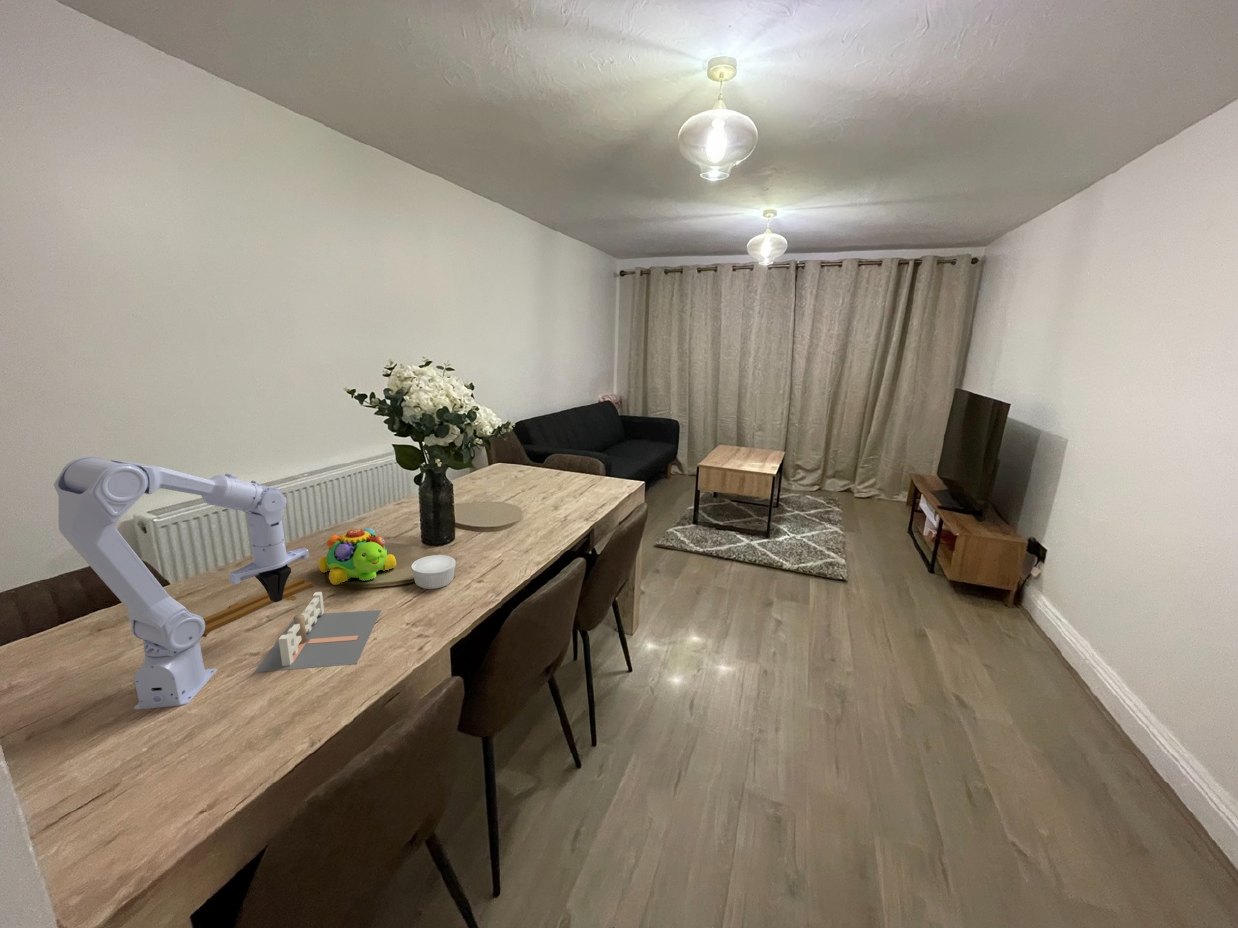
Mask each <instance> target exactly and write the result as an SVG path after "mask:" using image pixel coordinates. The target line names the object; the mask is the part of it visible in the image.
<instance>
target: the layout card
mask: <svg viewBox="0 0 1238 928" xmlns="http://www.w3.org/2000/svg"><path fill="white" fill-rule="evenodd" d="M381 612H382V609H376V610H361V611H360V610H358V611H345V612H341V611H340V612H329V613H326V612H324V613H323V615H319V616H317V622H316V623H315V624H312V625H311V628H312V629H311V631H310V632H307V633H306V636H307V642H306V643H304V644H299V645H298V652H297V653H296V655H293V662H292V664H291V665H288V666H282V660H281V653H280V646H279V639H278V640H277V641H276V643H275V644H274V646H272V648H271V650H270V651H269V652H268V654H267V655H266V656H265V657H264V659H262V661H261V663H260V664H259V665H258V667H257V668H256V670H254V672H253V673H254V674H255V673H264V672H265V673H266V672H276V671H279V672H280V671H291V670H302V669H311V668H312V669H315V668H324V667H325V668H326V667H327V668H328V667H337V666H338V667H339V666H347V665H348V666H350V665H357V663H358V661H359V660H360V658H361V656H362V653H363V651H364V649H365V646H366V645H367V643H368V640H369V639H370V636H371V634H372V632H373V630H374V627H375V625H376V622H377V620H378V619H379V616H380V614H381ZM293 625H294V619H293V620H292V621H291V623H290V624H289V625H288V626H287V628H286V629H285V631H283V633H282V635H287V633H288V630H289V629H290V628H292V627H293Z"/></svg>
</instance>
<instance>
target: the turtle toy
mask: <svg viewBox="0 0 1238 928" xmlns="http://www.w3.org/2000/svg"><path fill="white" fill-rule="evenodd" d="M385 544H386V541H385V539H384V537H383V536H382V535H377V534H376V532H375V530H374V529H372V528H369V527H366V528H363V529H361V528H360V529H351V530H347V531H346V533H345V534H340V535H336V534H333V535H332V536H330V538H329V539H328V540H327V542H326V546H328V551H327V553H326V556H323V557H321V558H319V560H318V568H319V570H320V572H321V573H324V574H326V573H328V580H329V581H330V583H331V584H332V585H335V586H337V585H340V583H341V582H343V581H347V582H348V581H349V580H350V579H352V578H353V579H354V578H357V579H358V578H359V579H358V580H359V581H360V580H361V581H364V582H365V580H366V581H371V580H373V578H374V579H375V578H376V577H377V572H379V571H380V570H387V569H390V568H394V567H395V566H396V567H397V559H396V557H395V555H394V554H390V553H389V554H388V553H387V548H386V545H385ZM396 567H395V568H396ZM395 568H394V569H395ZM330 570H331V571H330ZM327 571H330V572H327ZM325 572H326V573H325ZM348 579H349V580H348ZM370 579H371V580H370ZM341 584H342V583H341Z"/></svg>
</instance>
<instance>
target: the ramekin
mask: <svg viewBox="0 0 1238 928" xmlns="http://www.w3.org/2000/svg"><path fill="white" fill-rule="evenodd" d="M456 564H457V561H456V560H455V559H454V558H453V557H451V556H449V555H445V554H444V555H443V554H434V555H428V556H427V555H426V556H424V557H421V558H419V559H417V560H414V562H412V564H411V565H410V569H411V572H412V574H413V579H414V583H415V584H416V586H418V587H419V588H421V589H425V590H436V589H440V588H444V587H446V586H447V585H450V583H451V582H452V581H453V579H454V577H455V576H454V574H455V568H456Z"/></svg>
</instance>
